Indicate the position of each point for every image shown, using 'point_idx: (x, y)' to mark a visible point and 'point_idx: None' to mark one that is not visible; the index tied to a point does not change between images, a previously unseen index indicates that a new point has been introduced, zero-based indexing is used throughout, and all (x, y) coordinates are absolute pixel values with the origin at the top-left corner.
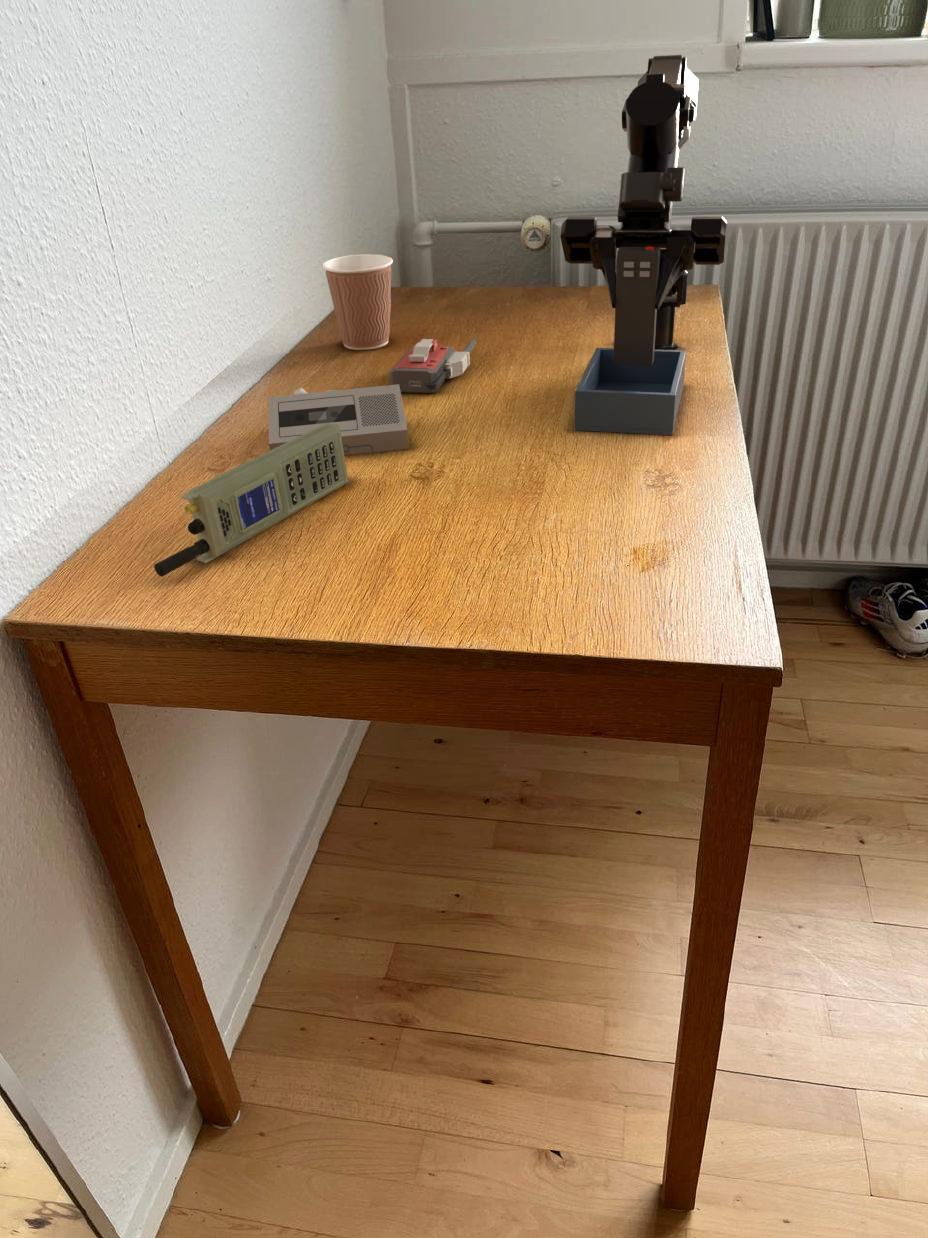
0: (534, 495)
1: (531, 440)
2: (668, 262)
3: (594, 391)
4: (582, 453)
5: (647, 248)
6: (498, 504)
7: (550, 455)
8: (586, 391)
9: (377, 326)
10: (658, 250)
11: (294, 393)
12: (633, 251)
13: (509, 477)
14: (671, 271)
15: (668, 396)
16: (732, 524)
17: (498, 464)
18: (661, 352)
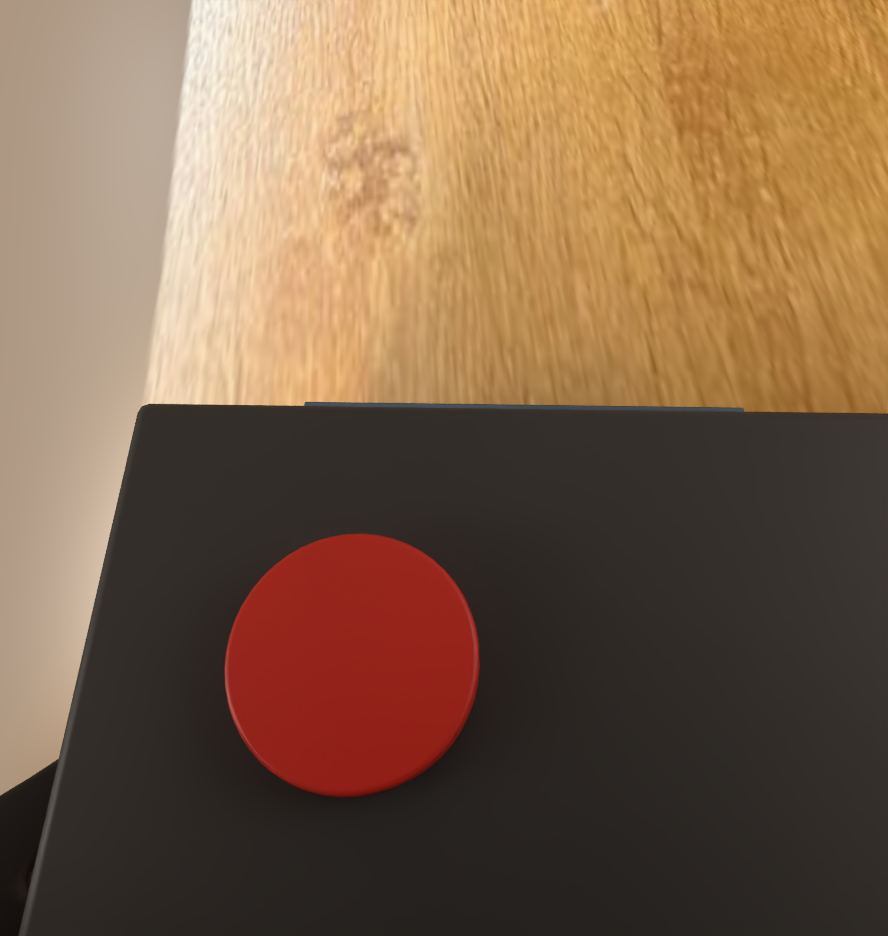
0: (680, 70)
1: (816, 376)
2: (16, 885)
3: (653, 409)
4: (617, 303)
5: (415, 552)
6: (752, 23)
7: (713, 278)
8: (689, 408)
9: None
10: (124, 503)
11: None
12: (776, 412)
13: (781, 141)
14: (51, 768)
15: (333, 402)
16: (221, 25)
17: (848, 205)
18: None
